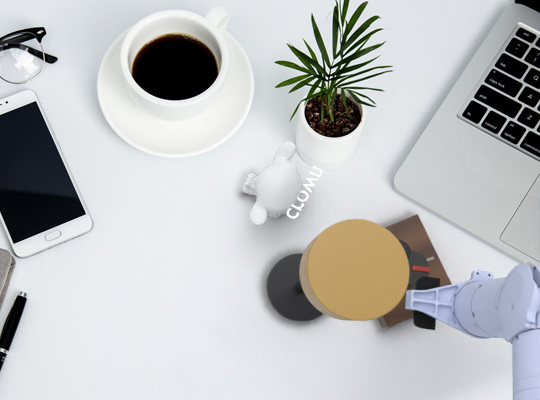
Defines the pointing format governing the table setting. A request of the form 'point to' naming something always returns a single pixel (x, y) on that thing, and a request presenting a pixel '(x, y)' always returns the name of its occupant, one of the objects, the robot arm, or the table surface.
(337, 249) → the desk lamp
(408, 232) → the dial panel
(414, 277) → the dial knob
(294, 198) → the figurine
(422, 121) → the table surface
